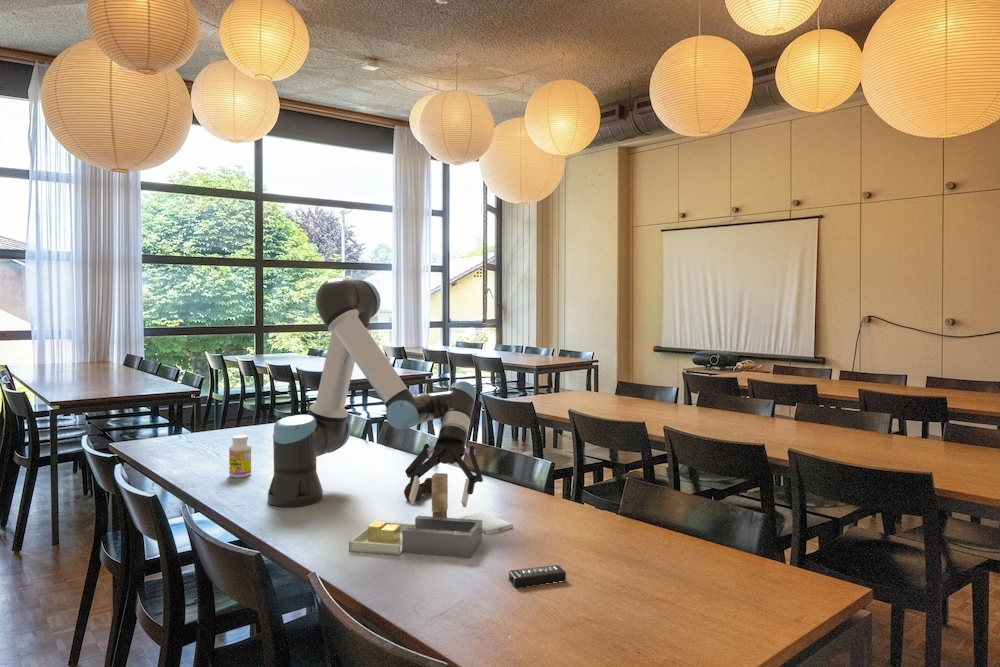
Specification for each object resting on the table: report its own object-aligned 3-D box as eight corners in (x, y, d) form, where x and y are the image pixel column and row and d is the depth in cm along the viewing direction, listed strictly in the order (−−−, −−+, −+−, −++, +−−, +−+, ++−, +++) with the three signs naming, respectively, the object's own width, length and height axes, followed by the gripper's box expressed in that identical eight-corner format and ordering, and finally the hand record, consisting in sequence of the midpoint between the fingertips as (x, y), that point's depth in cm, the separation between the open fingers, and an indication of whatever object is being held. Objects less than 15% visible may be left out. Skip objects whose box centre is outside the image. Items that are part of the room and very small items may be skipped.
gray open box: (402, 552, 154) (402, 530, 153) (418, 536, 164) (417, 515, 164) (470, 557, 150) (470, 535, 150) (482, 541, 161) (482, 520, 161)
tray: (348, 551, 154) (348, 541, 154) (374, 529, 169) (374, 521, 169) (399, 555, 152) (399, 545, 152) (420, 533, 166) (420, 524, 166)
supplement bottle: (224, 476, 220) (224, 437, 219) (239, 472, 226) (239, 433, 225) (241, 479, 217) (240, 439, 216) (255, 474, 223) (255, 435, 223)
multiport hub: (566, 583, 138) (566, 572, 138) (515, 590, 135) (515, 578, 134) (558, 575, 142) (558, 564, 142) (508, 581, 139) (508, 570, 139)
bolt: (440, 495, 207) (413, 506, 193) (428, 485, 208) (400, 496, 195) (449, 479, 205) (422, 490, 192) (436, 469, 207) (409, 479, 194)
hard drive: (457, 517, 175) (487, 529, 166) (482, 511, 181) (513, 523, 171) (457, 524, 176) (487, 536, 166) (482, 517, 181) (513, 529, 171)
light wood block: (380, 541, 159) (368, 540, 159) (386, 536, 163) (374, 535, 163) (380, 527, 159) (368, 526, 159) (386, 521, 163) (374, 520, 163)
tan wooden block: (379, 542, 159) (379, 529, 159) (386, 536, 163) (386, 524, 162) (393, 543, 158) (393, 530, 158) (399, 537, 162) (399, 525, 162)
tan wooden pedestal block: (431, 528, 170) (431, 476, 170) (436, 522, 175) (436, 472, 174) (443, 528, 170) (443, 477, 169) (448, 523, 174) (448, 473, 174)
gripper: (500, 442, 184) (488, 513, 170) (413, 437, 189) (394, 507, 175) (496, 426, 178) (483, 498, 164) (406, 422, 183) (386, 492, 169)
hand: (437, 503), depth 170 cm, fingers open, 13 cm apart
